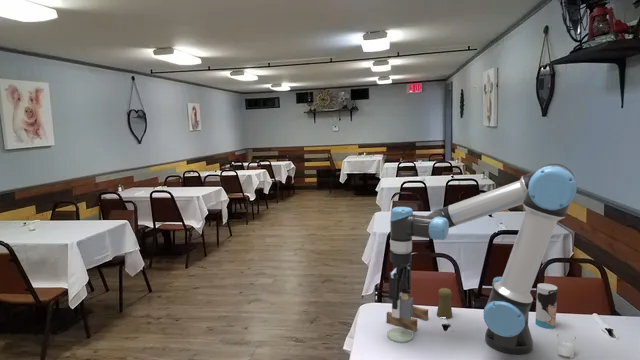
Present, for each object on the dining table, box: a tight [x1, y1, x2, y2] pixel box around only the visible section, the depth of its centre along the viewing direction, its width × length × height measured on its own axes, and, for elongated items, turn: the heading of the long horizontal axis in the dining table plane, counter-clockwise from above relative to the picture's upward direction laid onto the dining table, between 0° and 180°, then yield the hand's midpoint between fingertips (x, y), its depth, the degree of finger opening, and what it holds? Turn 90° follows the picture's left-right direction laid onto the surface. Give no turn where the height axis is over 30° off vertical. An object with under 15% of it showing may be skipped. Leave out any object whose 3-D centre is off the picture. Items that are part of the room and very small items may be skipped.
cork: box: [436, 287, 453, 320], centre depth 169 cm, size 6×6×11 cm
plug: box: [399, 295, 414, 319], centre depth 151 cm, size 5×5×7 cm
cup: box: [534, 283, 558, 330], centre depth 160 cm, size 7×7×15 cm
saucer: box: [386, 327, 414, 344], centre depth 153 cm, size 9×9×1 cm
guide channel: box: [386, 305, 429, 332], centre depth 165 cm, size 12×12×4 cm
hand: (399, 313), depth 152 cm, fingers closed on plug, 5 cm apart
